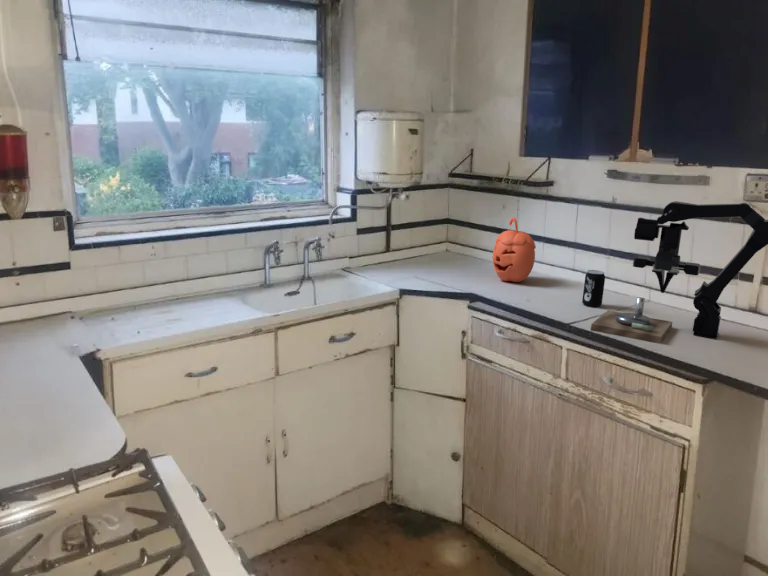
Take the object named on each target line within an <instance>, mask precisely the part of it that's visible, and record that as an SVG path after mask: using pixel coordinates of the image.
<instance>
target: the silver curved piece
mask: <svg viewBox="0 0 768 576" xmlns="http://www.w3.org/2000/svg"><path fill="white" fill-rule="evenodd" d="M645 300H646V298H645V297H639V296H638V297H636V302H635V308H634V313H633V312H620V313H618V314H617V315H616V321H617V322H619V323H622V324H625V325H629V326H632V323H637V324H643V325H648V326H649V325H650V322H651V319H650V318H651V317H649V316H646V315H644V308H645Z"/></svg>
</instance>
